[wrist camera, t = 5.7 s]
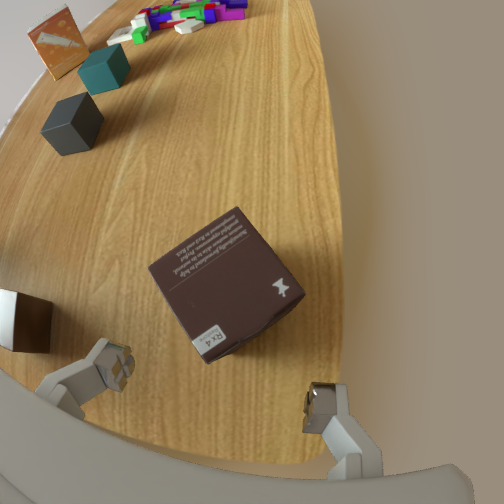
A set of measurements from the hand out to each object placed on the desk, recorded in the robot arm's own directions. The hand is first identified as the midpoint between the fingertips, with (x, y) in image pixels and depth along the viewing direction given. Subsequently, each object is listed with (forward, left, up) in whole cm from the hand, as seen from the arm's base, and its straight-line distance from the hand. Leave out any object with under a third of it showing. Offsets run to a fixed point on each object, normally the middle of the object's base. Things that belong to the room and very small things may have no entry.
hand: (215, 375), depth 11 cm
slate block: (+22, +20, -8) cm, 31 cm away
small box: (+44, +34, -9) cm, 57 cm away
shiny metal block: (0, +20, -8) cm, 22 cm away
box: (+4, 0, -9) cm, 10 cm away
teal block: (+33, +20, -8) cm, 40 cm away
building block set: (+54, +14, -9) cm, 57 cm away
